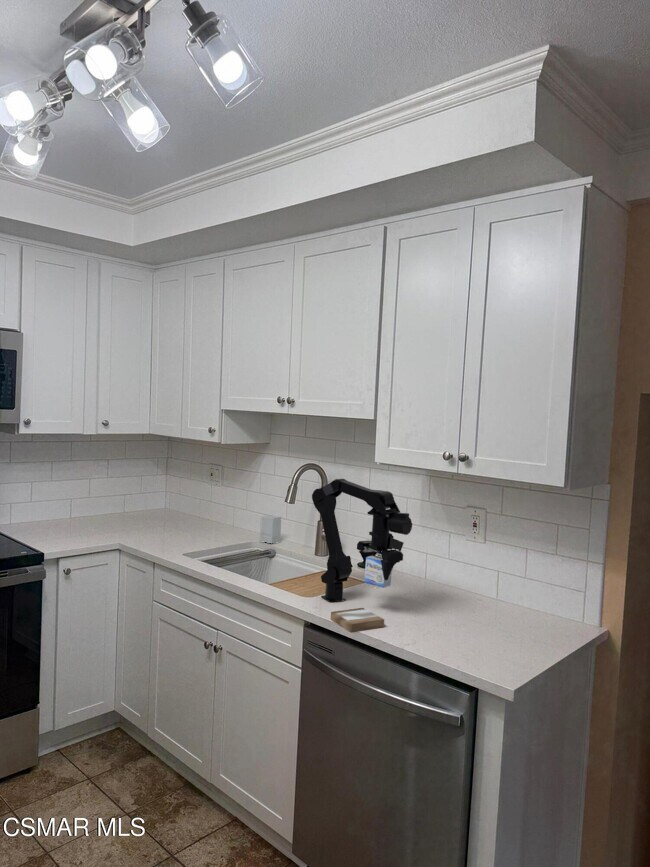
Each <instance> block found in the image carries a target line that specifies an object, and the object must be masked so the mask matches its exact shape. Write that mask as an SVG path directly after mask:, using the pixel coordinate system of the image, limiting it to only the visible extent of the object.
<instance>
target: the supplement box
mask: <svg viewBox="0 0 650 867" xmlns="http://www.w3.org/2000/svg"><path fill="white" fill-rule="evenodd" d="M281 529H282V516H277V515H272V514H268V515H267V514H266V515H264V516H261V517H260V531H259V532H260V535H259V542H260V541H264V542H268V543H275V542H279V541H280V542H281ZM280 542H279V543H280ZM275 544H276V543H275Z"/></svg>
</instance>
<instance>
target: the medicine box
mask: <svg viewBox="0 0 650 867" xmlns="http://www.w3.org/2000/svg"><path fill="white" fill-rule="evenodd" d="M381 560H383V559H382V557H381V556H377V555H375V556H369V557H366V565H365V567H364V568H365V569H364V579H363V580H364V581H363V582H364V584H368V585H371V586H374V587H375V586H377V587H380V588H382V589H383V588H388V587H390V586H391V585H392V572H393V570H392V571H391V573H390V575H389V578H388V580H384V576H383V571H382V565H381Z"/></svg>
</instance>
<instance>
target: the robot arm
mask: <svg viewBox="0 0 650 867" xmlns="http://www.w3.org/2000/svg"><path fill="white" fill-rule="evenodd" d="M342 493H343V494H346V495H349V496H351V497H354V498H357V499H359V500H361V501H364V502H365V503H366V505H368V506H369V507H371V509H370V510H369V511H367V515H368V516H372V524H371V527H372V528H371V531H369V532H368V535H369V536H371V540H359V541H358V542H357V543H356V550H357V551H358V554H360V556H361V558H362V560H363V563H364V565H365V566H366V557H369V556H377V554H379V555H381V556H380V557H381V558H382V559H383V560H381V565H382V571H383V576H384V580H388V578H389V575H390V573H391V571H392V572H393V569H394V566H395V565H396V564H397V563H400V562H401V561H404V554H403V552H402V548H403V546H404V543H405V542H404V541H400V540H399V539H395V538H394V535H393V534H392V533H395V534H401V535H404V536H408V535H409V534H410V533H411V531H412V529H413V522H412V519H411V517H410V513H408V512H401V510H400V508H399V506H398V505H397V502H396V501H395V498H394V496H393V495H394V494H393V492H391V491H388V490H379V489H371V488H368V487H366V486H363V485H360V484H357V483H355V482H352V481H348V480H347V479H345V478H336V479H334V480H332V481H331V482H330V483H328V484H325V485H323V486H321V487H320V488H316V489H314V490H313V493H312V494H311V499H312V503H313V505H314V507H315V509H316V510H317V512H318V513H319V515H320V518H321V523H322V528H323V532H324V533H323V534H324V537H325V541H326V546H327V551H328V558H327V562H326V568H327V570H326V571H325V572H324V573H322V575H321V576H320V579H321V583H323V584H325V591H324V593H325V594H324V595H321V598H322V599H323V600H325V601H327V602H328V603H337V602H345V601H347V598H345V597H343V595H344V592H343V591H344V583H343V582H347V581H348V580H349V577H350V576H351V573H352V571H353V566H354V565H353V564H352V558H351V556H350V555H346V554H345V552H344V550H343V547H342V540H341V537H340V531H339V526H338V523H337V518H336V512H335V510H336V506H337V498H338V497H339V496H341V494H342ZM391 574H392V573H391Z"/></svg>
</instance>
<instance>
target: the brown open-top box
mask: <svg viewBox="0 0 650 867" xmlns="http://www.w3.org/2000/svg"><path fill="white" fill-rule="evenodd" d="M330 620H331V621H332V622H334V623H335V624H337V625H338V626H340V627H342V628H344V630H347V631H348V632H350V633H356V632H362V631H363V632H364V631H369V630H375V629H382V628H384V627H385V619H384V618H382V617H381V616H379V615H378V614H376V613H373V612H372V611H370V610H368V609H366V608H364V607H359V608H351V609H349V608H348V609H343V610H335V611H330Z"/></svg>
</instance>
